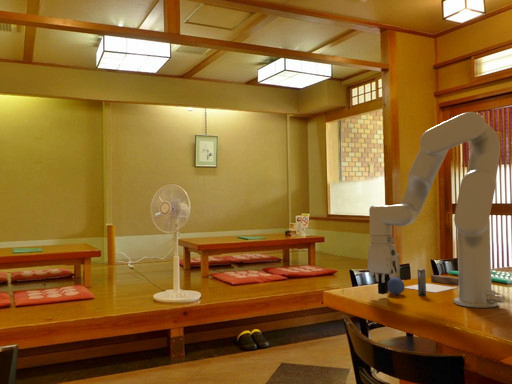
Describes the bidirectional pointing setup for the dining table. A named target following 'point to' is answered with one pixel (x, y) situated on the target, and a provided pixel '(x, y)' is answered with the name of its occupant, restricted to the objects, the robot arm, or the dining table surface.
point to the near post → (421, 282)
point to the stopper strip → (444, 279)
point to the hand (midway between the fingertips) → (383, 293)
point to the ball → (395, 286)
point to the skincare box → (398, 267)
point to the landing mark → (432, 288)
